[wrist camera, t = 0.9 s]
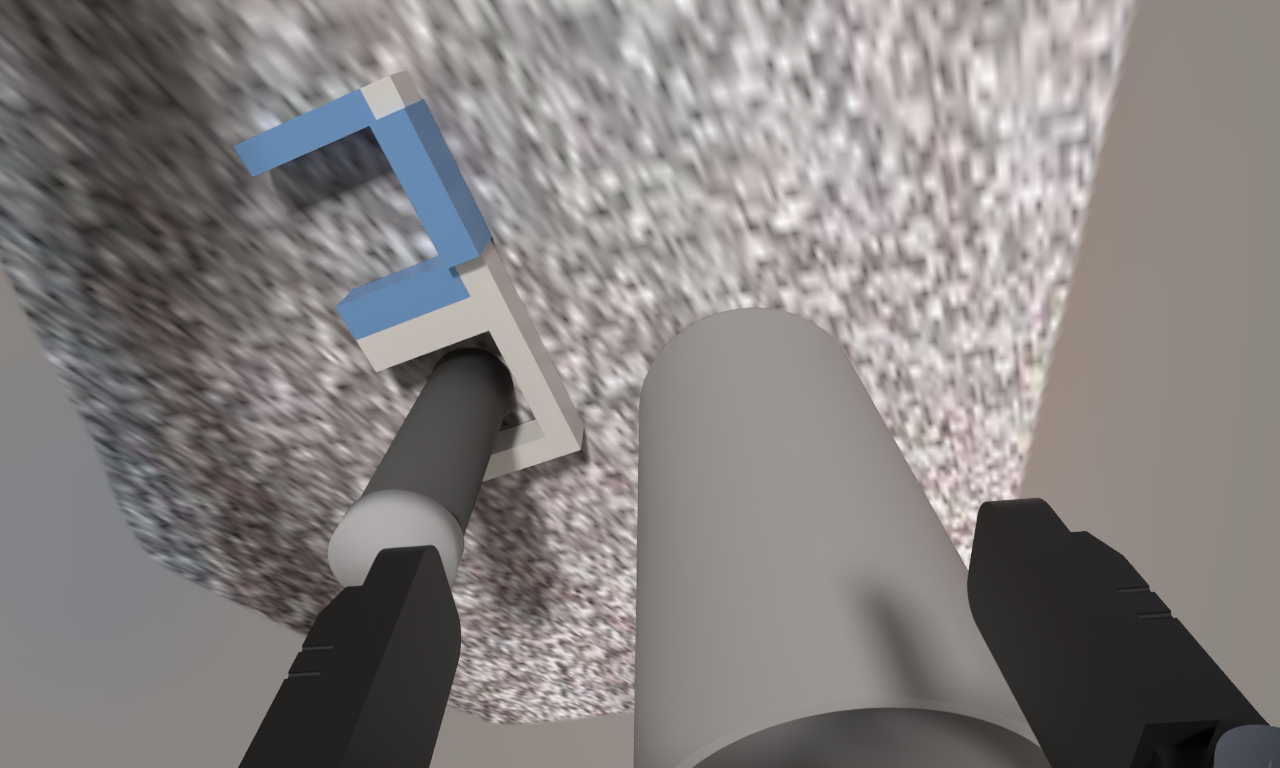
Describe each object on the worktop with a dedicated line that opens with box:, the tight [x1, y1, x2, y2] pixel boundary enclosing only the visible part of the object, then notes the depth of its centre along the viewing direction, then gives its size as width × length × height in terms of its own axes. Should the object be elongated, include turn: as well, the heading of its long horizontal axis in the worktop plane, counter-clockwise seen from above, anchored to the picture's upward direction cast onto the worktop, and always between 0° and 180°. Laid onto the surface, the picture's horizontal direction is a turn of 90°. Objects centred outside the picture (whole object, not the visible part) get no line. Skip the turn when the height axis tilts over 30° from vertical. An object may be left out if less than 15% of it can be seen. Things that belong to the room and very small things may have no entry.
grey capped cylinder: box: [328, 348, 513, 588], centre depth 35 cm, size 5×5×15 cm
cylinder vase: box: [634, 308, 1052, 768], centre depth 31 cm, size 12×12×25 cm
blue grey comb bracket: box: [233, 71, 584, 482], centre depth 37 cm, size 8×21×3 cm, turn 21°
